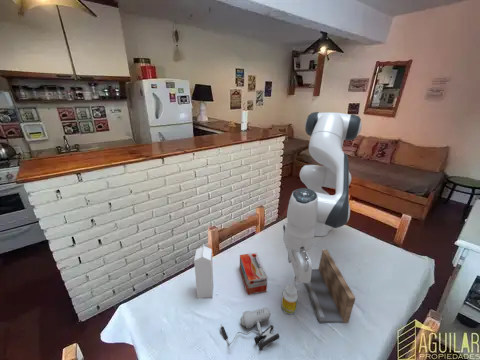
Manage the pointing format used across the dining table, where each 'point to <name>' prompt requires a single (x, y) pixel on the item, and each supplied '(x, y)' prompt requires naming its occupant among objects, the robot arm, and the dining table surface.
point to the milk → (204, 272)
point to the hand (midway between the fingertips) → (293, 271)
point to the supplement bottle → (289, 299)
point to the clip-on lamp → (256, 317)
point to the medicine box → (253, 273)
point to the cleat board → (330, 292)
